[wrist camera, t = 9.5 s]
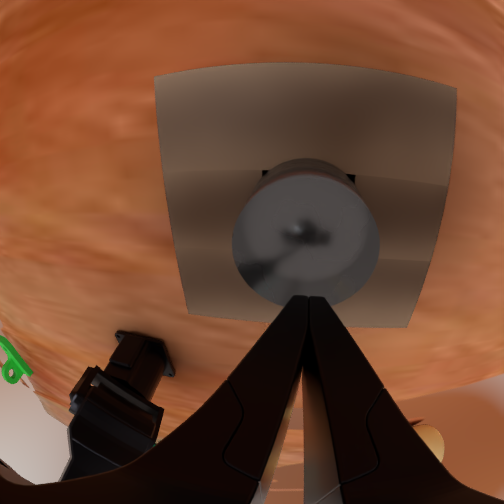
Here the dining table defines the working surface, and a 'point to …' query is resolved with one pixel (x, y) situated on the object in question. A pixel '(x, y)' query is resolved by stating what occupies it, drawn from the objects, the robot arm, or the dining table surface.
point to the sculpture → (431, 439)
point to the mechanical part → (13, 363)
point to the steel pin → (305, 234)
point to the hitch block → (304, 146)
